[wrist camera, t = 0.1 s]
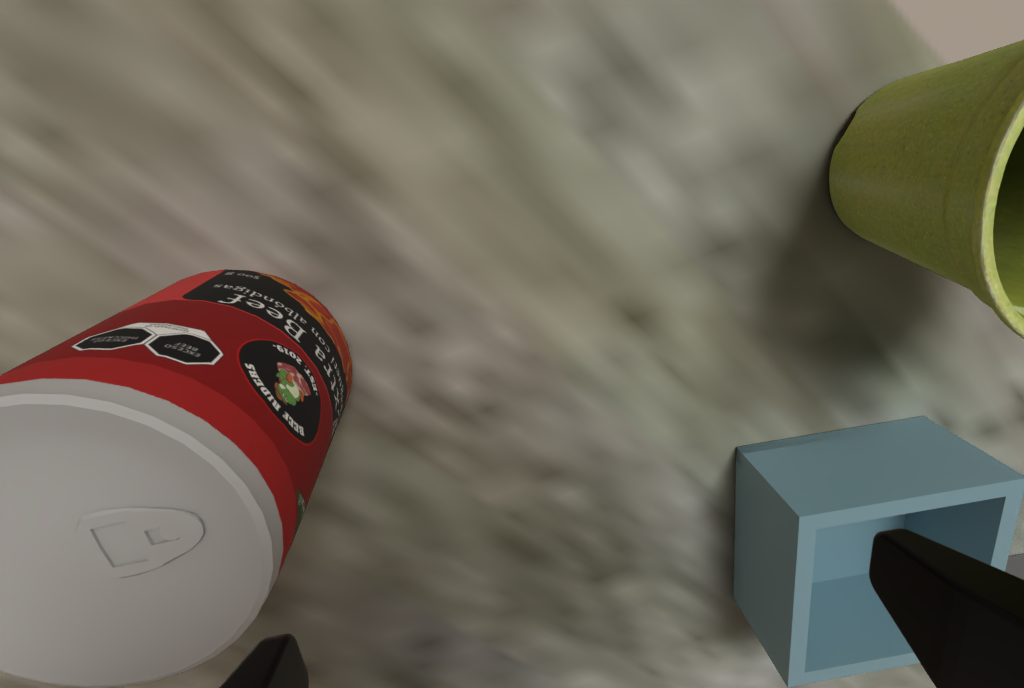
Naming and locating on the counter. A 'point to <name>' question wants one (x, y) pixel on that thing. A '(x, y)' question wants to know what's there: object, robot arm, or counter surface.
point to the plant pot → (944, 175)
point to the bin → (855, 535)
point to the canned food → (161, 477)
